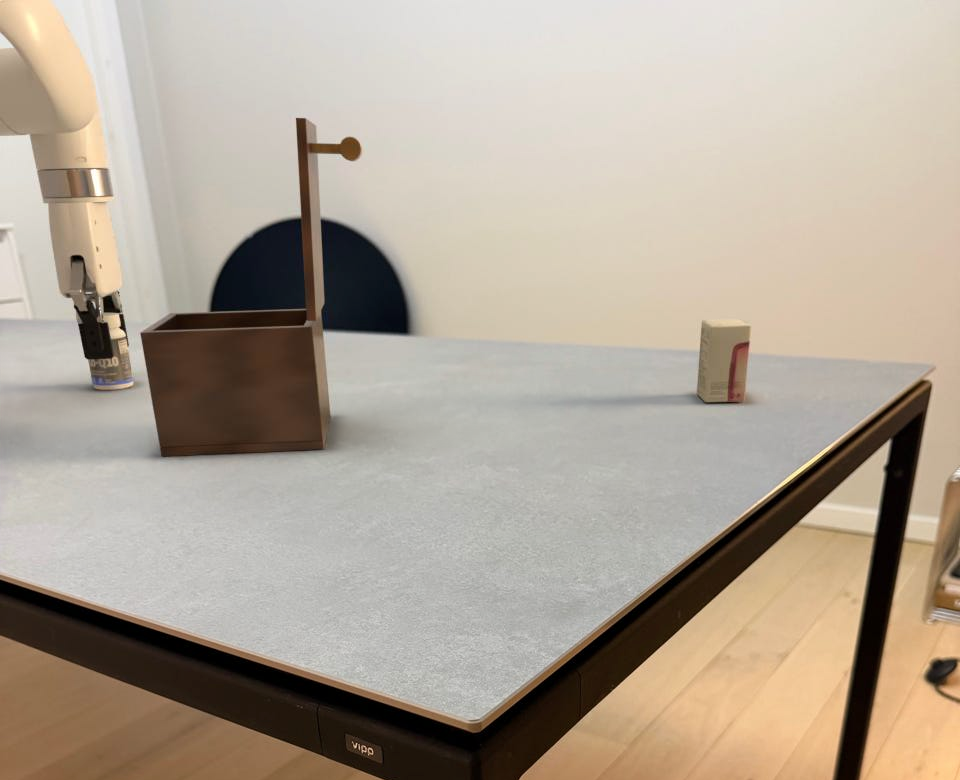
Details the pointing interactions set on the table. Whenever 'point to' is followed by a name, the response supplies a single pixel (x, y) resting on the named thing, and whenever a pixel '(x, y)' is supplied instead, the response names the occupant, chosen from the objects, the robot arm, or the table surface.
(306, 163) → the lid
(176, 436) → the chest
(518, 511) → the table surface
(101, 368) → the pill bottle
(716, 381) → the small box
